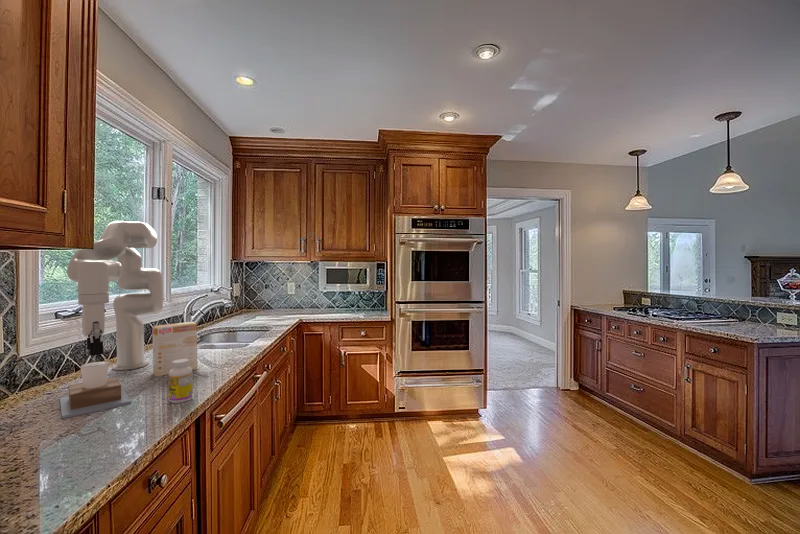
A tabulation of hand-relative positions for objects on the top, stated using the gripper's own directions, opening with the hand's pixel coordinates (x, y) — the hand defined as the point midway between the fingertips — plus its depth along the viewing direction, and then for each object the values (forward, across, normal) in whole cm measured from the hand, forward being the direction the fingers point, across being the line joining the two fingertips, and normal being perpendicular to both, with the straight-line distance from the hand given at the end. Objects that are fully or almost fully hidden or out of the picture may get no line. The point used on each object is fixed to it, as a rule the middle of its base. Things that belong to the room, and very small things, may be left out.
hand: (95, 351), depth 116 cm
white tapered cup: (+11, +1, 0) cm, 11 cm away
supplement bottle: (+16, +19, +20) cm, 32 cm away
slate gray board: (+16, +1, 0) cm, 16 cm away
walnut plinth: (+16, +1, 0) cm, 16 cm away
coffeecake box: (+17, -19, +27) cm, 37 cm away
